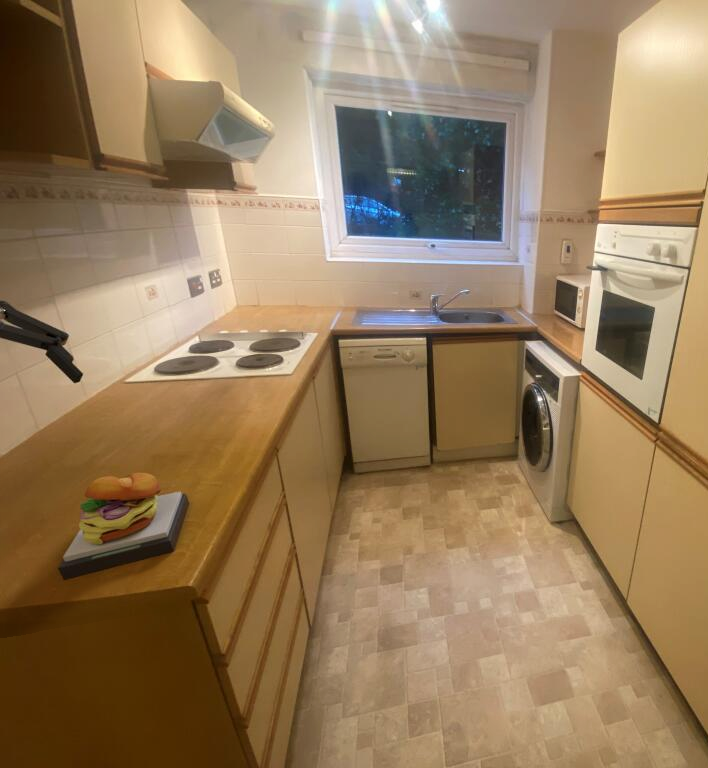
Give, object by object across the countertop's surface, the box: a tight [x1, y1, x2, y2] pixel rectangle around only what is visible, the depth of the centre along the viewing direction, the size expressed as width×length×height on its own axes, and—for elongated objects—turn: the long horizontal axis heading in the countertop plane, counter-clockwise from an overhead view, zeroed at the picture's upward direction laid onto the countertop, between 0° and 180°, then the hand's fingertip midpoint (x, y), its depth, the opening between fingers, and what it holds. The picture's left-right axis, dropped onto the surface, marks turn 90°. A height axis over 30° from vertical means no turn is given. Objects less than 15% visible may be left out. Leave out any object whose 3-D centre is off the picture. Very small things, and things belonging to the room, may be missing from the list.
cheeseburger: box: [78, 472, 163, 545], centre depth 73 cm, size 10×11×10 cm
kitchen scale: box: [57, 491, 190, 580], centre depth 75 cm, size 14×14×3 cm
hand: (29, 395), depth 69 cm, fingers open, 13 cm apart
